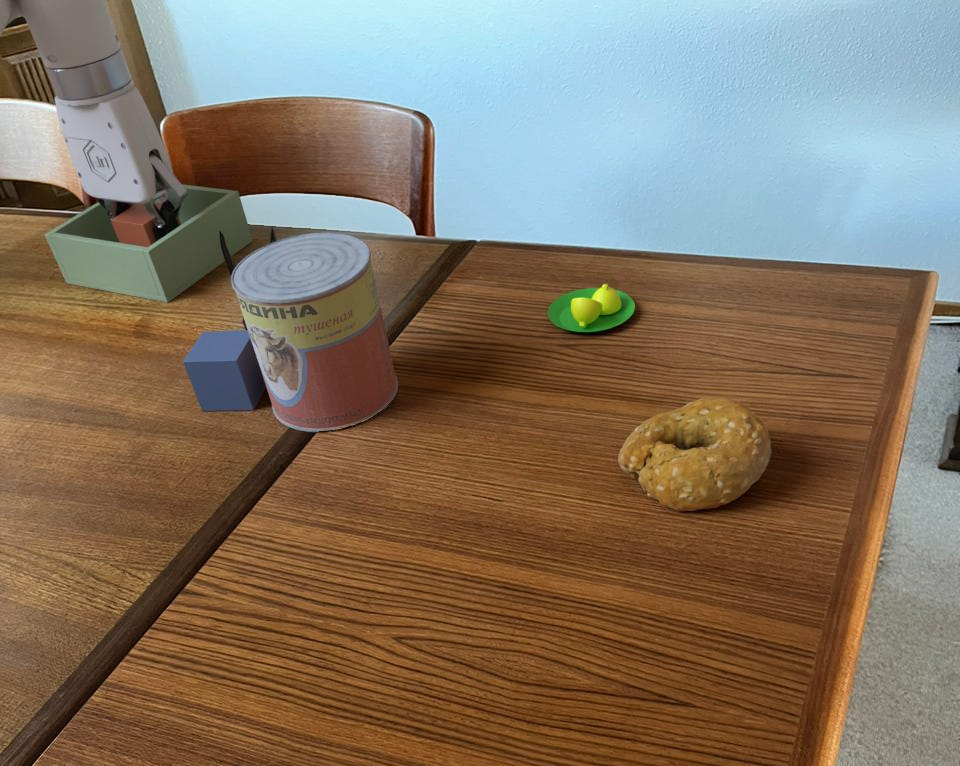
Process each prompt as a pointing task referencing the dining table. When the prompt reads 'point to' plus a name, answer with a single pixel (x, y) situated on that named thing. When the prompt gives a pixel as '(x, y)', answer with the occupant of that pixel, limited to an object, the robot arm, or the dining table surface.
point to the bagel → (698, 454)
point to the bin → (151, 247)
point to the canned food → (317, 329)
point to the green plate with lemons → (591, 309)
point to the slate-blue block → (225, 371)
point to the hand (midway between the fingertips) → (157, 253)
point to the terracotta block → (136, 226)
